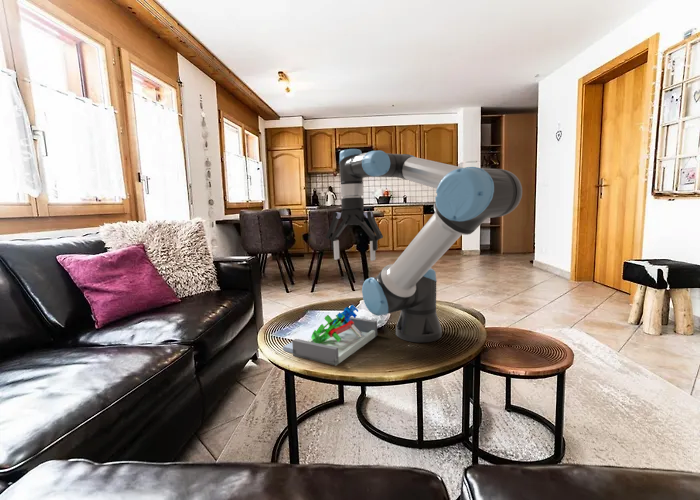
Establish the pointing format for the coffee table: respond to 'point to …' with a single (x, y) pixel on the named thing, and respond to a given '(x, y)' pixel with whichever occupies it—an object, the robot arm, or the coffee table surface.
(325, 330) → the toy
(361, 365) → the coffee table surface
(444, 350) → the coffee table surface
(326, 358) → the tray
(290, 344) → the wing blank
